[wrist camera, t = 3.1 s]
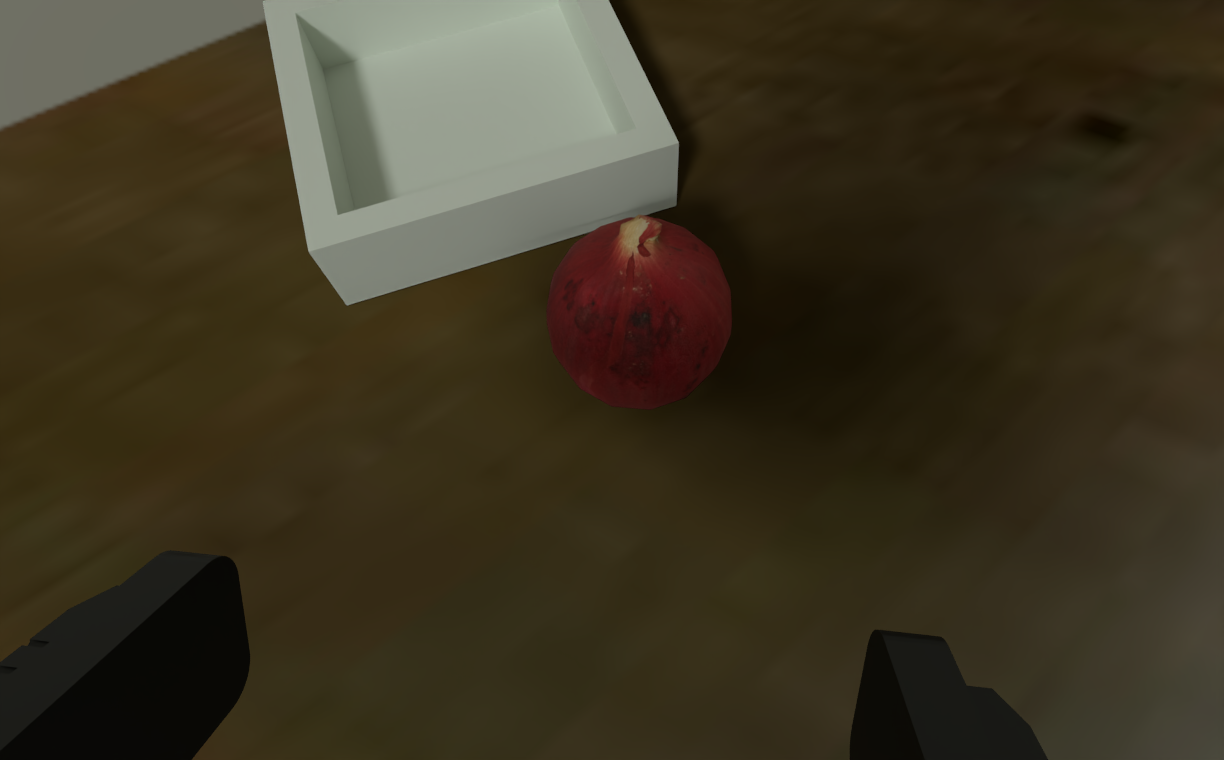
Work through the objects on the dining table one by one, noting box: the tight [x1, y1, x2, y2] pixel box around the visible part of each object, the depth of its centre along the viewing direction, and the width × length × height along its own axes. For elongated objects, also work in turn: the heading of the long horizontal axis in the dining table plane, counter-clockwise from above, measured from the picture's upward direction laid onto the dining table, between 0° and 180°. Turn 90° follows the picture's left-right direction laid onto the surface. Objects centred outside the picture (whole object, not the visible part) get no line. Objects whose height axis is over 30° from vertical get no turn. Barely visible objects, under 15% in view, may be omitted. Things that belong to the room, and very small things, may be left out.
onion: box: [547, 215, 732, 410], centre depth 23 cm, size 6×6×8 cm
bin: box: [263, 0, 679, 305], centre depth 30 cm, size 13×13×4 cm
